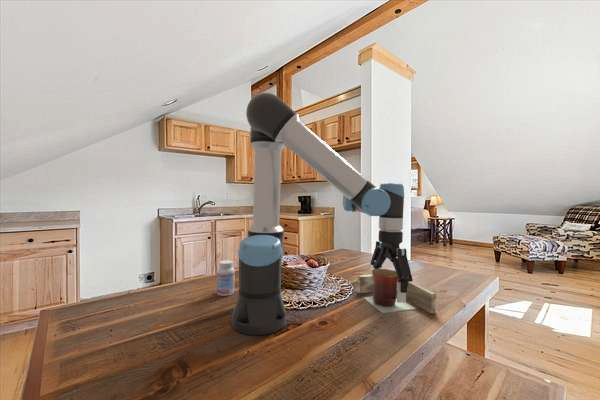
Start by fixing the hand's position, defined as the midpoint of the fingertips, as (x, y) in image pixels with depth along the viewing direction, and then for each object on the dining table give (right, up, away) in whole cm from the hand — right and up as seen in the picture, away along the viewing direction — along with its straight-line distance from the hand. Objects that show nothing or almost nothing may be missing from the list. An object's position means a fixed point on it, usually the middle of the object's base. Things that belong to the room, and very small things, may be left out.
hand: (388, 294), depth 92 cm
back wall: (+9, -3, +4) cm, 10 cm away
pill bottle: (-56, -2, +7) cm, 56 cm away
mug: (0, -3, 0) cm, 3 cm away
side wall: (-1, -3, +11) cm, 12 cm away
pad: (0, -3, 0) cm, 3 cm away
